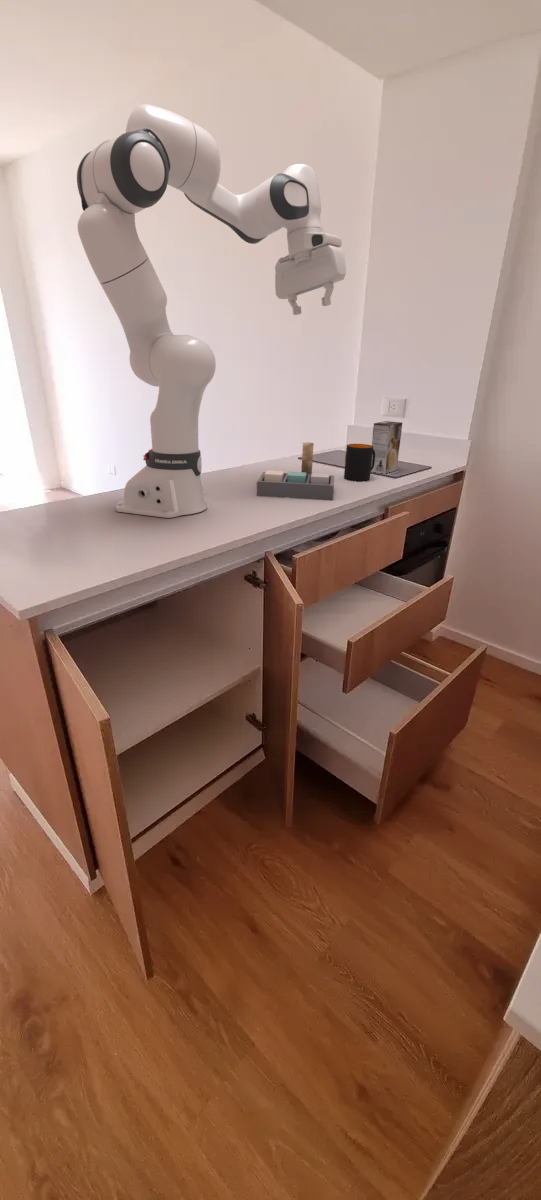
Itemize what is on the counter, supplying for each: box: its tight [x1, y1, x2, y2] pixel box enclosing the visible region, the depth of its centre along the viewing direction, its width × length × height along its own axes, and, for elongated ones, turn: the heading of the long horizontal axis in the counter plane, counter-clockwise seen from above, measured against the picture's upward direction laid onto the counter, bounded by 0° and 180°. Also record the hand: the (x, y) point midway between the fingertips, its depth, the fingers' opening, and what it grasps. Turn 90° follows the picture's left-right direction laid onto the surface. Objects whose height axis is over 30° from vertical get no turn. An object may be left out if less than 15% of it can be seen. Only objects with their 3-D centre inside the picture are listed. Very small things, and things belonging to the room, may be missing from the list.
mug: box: [343, 443, 375, 483], centre depth 166 cm, size 8×12×10 cm
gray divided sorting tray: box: [256, 471, 335, 501], centre depth 148 cm, size 21×13×4 cm, turn 83°
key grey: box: [310, 472, 330, 485], centre depth 147 cm, size 5×5×3 cm
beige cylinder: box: [300, 441, 315, 474], centre depth 157 cm, size 3×3×12 cm
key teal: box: [287, 471, 307, 483], centre depth 147 cm, size 5×5×3 cm
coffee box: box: [371, 420, 403, 475], centre depth 176 cm, size 9×6×16 cm
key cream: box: [264, 470, 285, 482], centre depth 148 cm, size 5×5×3 cm
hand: (311, 310), depth 133 cm, fingers open, 8 cm apart
